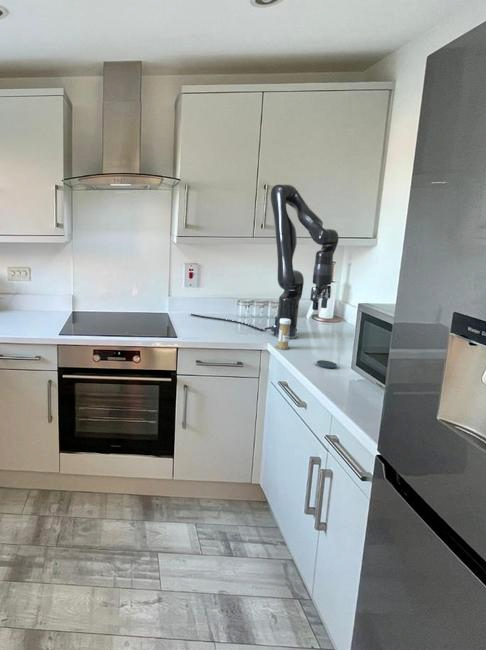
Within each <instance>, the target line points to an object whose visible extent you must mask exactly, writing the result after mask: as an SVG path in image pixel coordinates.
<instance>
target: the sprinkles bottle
mask: <svg viewBox="0 0 486 650" xmlns="http://www.w3.org/2000/svg"><path fill="white" fill-rule="evenodd" d="M290 324H291V320H290V319H286V318H281V319H280V328H279V337H278V336H277V337H278V338H277V349H279V350H288V349H289V342H290V339H289V331H290Z"/></svg>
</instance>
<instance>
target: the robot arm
mask: <svg viewBox="0 0 486 650" xmlns="http://www.w3.org/2000/svg"><path fill="white" fill-rule="evenodd" d="M270 190H271V191H270V194H269V195H270V196H269V197H270V203H271V208H272V214H273V221H274V228H275V229H274V231H275V244H276V257H277V284H278V286H279V287H280V288H281V289H282V290H283V292H282V293H281V294H280V295H279V297H278V304H277V314H276V316H274V325H271V326H267V327H265V328H259V327H258V326H255V325H252V326H251V324H249V323H246V322H243V323H241V322H242V321H239V322H237V321H238V320H234V321H232V320H233V319H229V318H227V320H226V318H222V317H213V316H205V315H200V314H194V313H191V314H190V316H192V317H198V318H203V319H212V320H219V321H224V322H225V321H226V322H230V323H231V322H232V323H236V324H241V325H245V326H247V327H250V328H253V329H255V330H257V331H261V332H266V331H267V330H270V331H271V332H273V336H276V337H279V328H280V319H281V318H286V319H290V320H291V324H290V331H289V340H291V339H292V340H293V339H296V337H297V333H298V328H297V327H298V318H299V309H300V301H301V299H302V296H303V290H304V285H305V284H304V283H305V280H304V279H305V278H304V275H303V274H302V272H301V271H299V270H294V265H293V258H294V254H295V252H296V249H297V246H298V245H297V244H298V239H297V230H296V226H295V224H294V223H293V221H292V220H291V217H290V215H289V214H288V211H287V205H289V207H291V208H292V209H293V210H294V211H295V213H296V217H297V220H298V222H299V223H300V224H301V225H302V227H304V228H305V229H306V230H307V231H308V233H309V235H310V237H311V239H312V241H314V243H315V244H317V245H319V246H321V249H320V250H317V251H316V253H315V257H314V258H315V259H314V266H313V274H312V284H314V285H315V286H313V287H311V291H310V297H309V298H310V299H309V301H310V302H312V307H311V309H312V310H313V311H319V305H320V308H322V309H327V308H328V301H329V299H331V293H332V283H333V282H332V281H333V273H334V272H333V271H334V269H333V267H334V266H333V263H334V255H335V252H336V249H337V247H338V243H339V239H340V238H339V233H338V232H337V230H335V229H332V228H324V227H323V225H324V222H323V221H322V219H321V218H320V217H319V216H318V215H317V214H316V213H315V212H314V211H313V210H312V208H310V207H309V205H308V204H307V203H306V202H305V200H304V198H303V197H302V195H301V194H300V192H299V191H298V190H297V189H296V187H295V186H294V185H291V184H275V185H273V186H272V188H271V189H270ZM320 300H321V304H320ZM245 323H246V324H245ZM248 324H249V325H248ZM254 326H255V327H254ZM263 329H265V330H263Z"/></svg>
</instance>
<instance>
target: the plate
mask: <svg viewBox="0 0 486 650" xmlns="http://www.w3.org/2000/svg"><path fill="white" fill-rule="evenodd" d="M316 364H317V365H318V366H319V367H321V368H325V369H334V368H337V365H338V364H337V363H335V362H333V361H330V360H324V359H323V360H322V359H321V360H320V359H319V360H316Z"/></svg>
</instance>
